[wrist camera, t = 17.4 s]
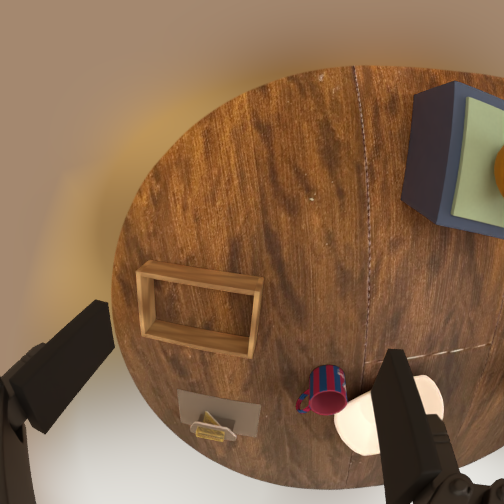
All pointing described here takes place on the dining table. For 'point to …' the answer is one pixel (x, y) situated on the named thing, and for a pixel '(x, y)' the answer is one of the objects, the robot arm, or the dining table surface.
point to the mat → (480, 165)
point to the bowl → (363, 421)
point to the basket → (193, 335)
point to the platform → (218, 416)
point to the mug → (325, 391)
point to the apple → (500, 170)
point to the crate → (441, 154)
